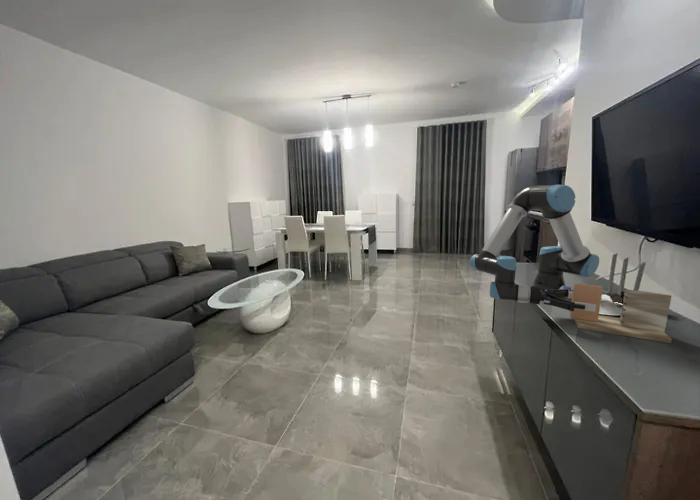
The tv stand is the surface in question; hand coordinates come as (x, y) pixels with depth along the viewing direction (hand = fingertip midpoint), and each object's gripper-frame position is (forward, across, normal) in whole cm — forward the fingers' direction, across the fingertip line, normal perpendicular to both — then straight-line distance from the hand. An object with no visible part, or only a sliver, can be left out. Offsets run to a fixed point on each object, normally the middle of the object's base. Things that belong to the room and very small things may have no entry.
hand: (591, 302), depth 118 cm
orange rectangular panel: (-2, 0, -7) cm, 7 cm away
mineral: (-3, -22, -9) cm, 24 cm away
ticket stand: (+9, 0, -9) cm, 13 cm away
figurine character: (+21, -28, -9) cm, 36 cm away
